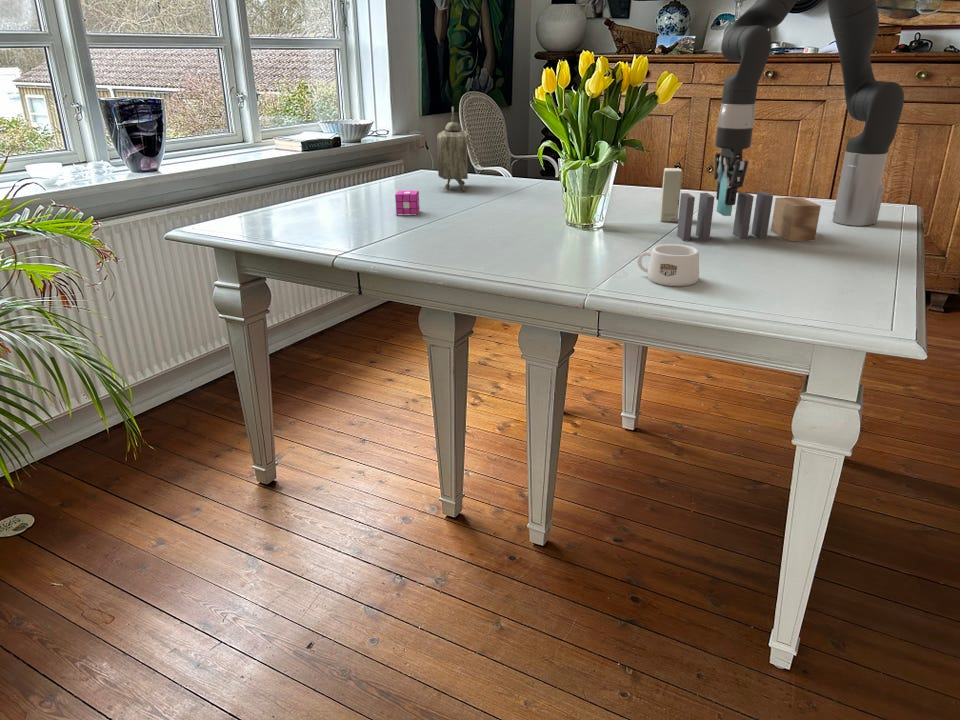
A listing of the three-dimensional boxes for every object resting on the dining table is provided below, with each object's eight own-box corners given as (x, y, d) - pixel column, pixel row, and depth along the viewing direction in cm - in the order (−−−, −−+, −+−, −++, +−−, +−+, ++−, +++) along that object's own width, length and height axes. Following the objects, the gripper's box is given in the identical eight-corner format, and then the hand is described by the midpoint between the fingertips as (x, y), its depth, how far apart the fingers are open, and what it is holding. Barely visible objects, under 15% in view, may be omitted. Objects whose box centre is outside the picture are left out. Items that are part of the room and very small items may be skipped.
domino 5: (757, 233, 170) (764, 191, 166) (766, 239, 166) (773, 195, 162) (751, 233, 170) (757, 191, 166) (759, 239, 166) (766, 195, 162)
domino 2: (702, 235, 170) (707, 192, 166) (709, 240, 165) (714, 196, 161) (695, 235, 170) (700, 192, 166) (702, 240, 165) (707, 197, 161)
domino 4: (739, 234, 170) (745, 191, 166) (747, 239, 166) (753, 196, 162) (732, 234, 170) (738, 192, 166) (740, 239, 166) (746, 196, 162)
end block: (794, 230, 173) (800, 197, 170) (814, 240, 164) (820, 205, 161) (770, 230, 173) (775, 197, 170) (788, 241, 164) (794, 206, 160)
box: (677, 222, 182) (682, 171, 177) (659, 221, 183) (664, 170, 178) (676, 218, 187) (681, 167, 182) (659, 217, 188) (663, 167, 182)
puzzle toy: (417, 215, 193) (416, 194, 191) (396, 215, 193) (395, 194, 191) (419, 211, 198) (418, 190, 196) (399, 211, 199) (398, 190, 196)
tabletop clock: (467, 193, 222) (466, 108, 212) (438, 193, 222) (435, 108, 212) (467, 184, 235) (466, 104, 225) (440, 185, 235) (437, 104, 225)
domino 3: (723, 211, 168) (728, 167, 164) (730, 215, 163) (737, 171, 159) (716, 211, 168) (722, 167, 164) (724, 216, 163) (729, 171, 159)
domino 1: (683, 235, 170) (687, 193, 166) (690, 240, 165) (694, 197, 161) (676, 235, 170) (681, 193, 166) (683, 240, 165) (687, 197, 161)
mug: (703, 276, 140) (706, 246, 137) (691, 290, 132) (695, 259, 130) (643, 269, 145) (645, 239, 143) (628, 282, 137) (631, 251, 135)
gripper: (765, 128, 151) (753, 208, 158) (739, 122, 164) (729, 196, 171) (730, 128, 151) (720, 209, 158) (707, 122, 164) (699, 196, 171)
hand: (725, 202), depth 164 cm, fingers closed on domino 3, 5 cm apart
